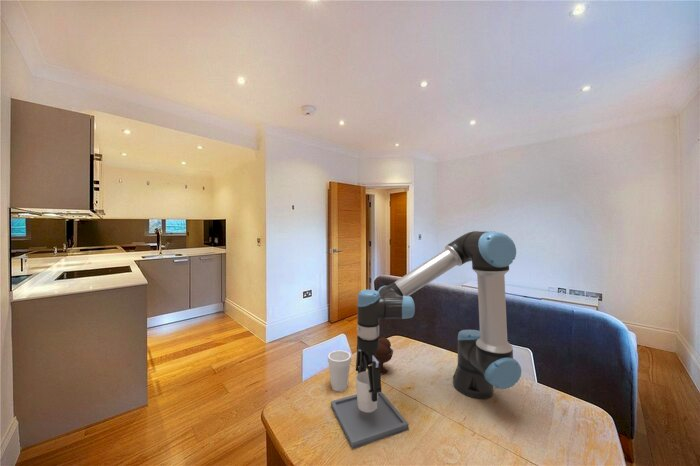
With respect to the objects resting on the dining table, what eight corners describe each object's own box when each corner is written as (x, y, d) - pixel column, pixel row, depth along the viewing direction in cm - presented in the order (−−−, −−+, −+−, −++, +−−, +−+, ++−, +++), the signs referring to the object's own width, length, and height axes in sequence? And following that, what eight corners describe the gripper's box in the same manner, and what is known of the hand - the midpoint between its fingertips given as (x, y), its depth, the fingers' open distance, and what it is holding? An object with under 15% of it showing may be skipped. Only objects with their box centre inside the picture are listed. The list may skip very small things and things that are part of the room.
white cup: (377, 415, 85) (377, 385, 85) (353, 412, 87) (354, 382, 87) (379, 400, 93) (379, 372, 93) (357, 397, 95) (358, 370, 94)
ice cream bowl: (376, 362, 127) (376, 331, 127) (397, 369, 121) (397, 337, 120) (364, 372, 118) (364, 339, 118) (386, 380, 112) (386, 346, 112)
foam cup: (323, 390, 105) (324, 358, 105) (333, 378, 113) (333, 348, 113) (345, 396, 101) (345, 363, 101) (354, 383, 110) (354, 352, 110)
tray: (378, 393, 103) (378, 388, 103) (408, 429, 85) (408, 423, 85) (330, 406, 95) (330, 401, 95) (352, 449, 77) (352, 442, 77)
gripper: (346, 326, 98) (346, 386, 98) (372, 350, 79) (371, 425, 79) (364, 324, 100) (364, 382, 101) (393, 346, 82) (392, 418, 82)
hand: (367, 401), depth 90 cm, fingers closed on white cup, 8 cm apart
